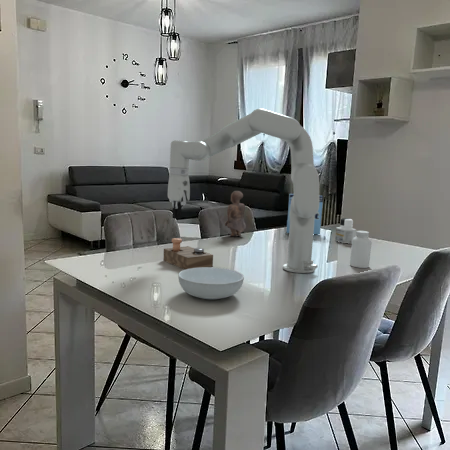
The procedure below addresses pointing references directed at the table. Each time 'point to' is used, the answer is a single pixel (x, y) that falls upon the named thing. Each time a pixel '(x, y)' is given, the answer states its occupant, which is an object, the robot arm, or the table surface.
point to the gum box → (316, 217)
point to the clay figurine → (236, 214)
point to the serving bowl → (210, 282)
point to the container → (345, 231)
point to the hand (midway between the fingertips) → (176, 218)
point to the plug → (198, 251)
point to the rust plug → (176, 244)
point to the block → (187, 258)
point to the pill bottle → (360, 250)
